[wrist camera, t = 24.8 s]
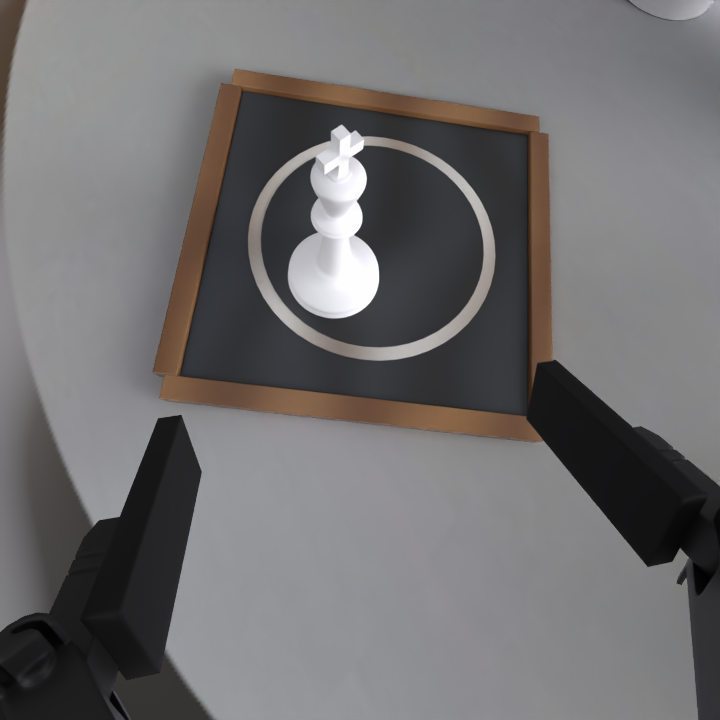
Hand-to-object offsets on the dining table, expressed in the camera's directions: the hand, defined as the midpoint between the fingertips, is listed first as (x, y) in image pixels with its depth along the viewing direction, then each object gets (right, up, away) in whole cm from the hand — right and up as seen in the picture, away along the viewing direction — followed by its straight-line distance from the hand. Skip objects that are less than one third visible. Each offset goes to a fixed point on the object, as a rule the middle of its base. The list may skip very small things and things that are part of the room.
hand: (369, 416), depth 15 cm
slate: (0, +9, +9) cm, 12 cm away
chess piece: (-2, +7, +7) cm, 10 cm away
